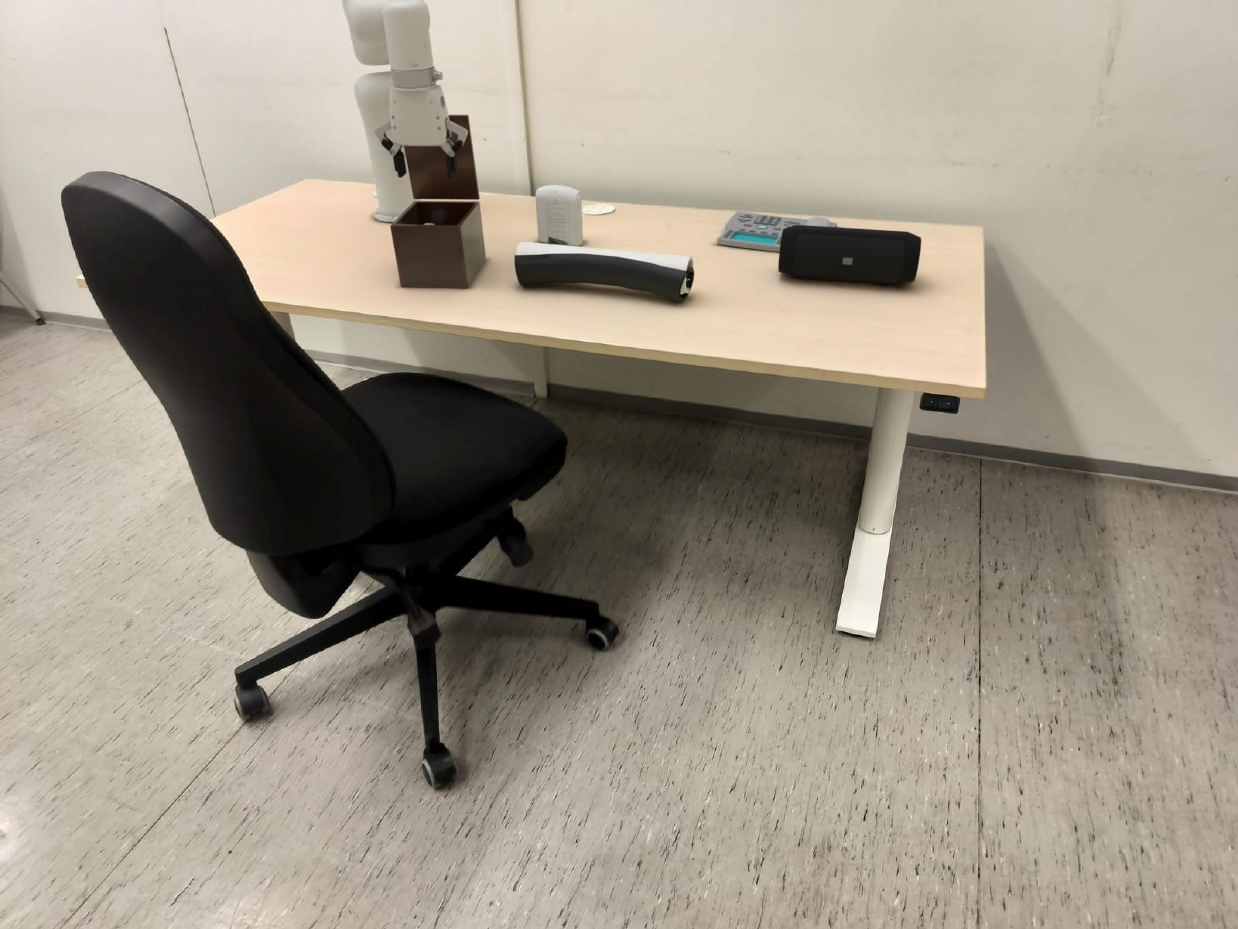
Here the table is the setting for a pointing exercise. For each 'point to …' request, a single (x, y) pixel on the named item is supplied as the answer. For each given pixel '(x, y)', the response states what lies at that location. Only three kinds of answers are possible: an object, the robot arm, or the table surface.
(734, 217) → the office telephone
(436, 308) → the table surface
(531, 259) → the curved black white bar
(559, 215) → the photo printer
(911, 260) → the portable speaker
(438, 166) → the lid
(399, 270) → the chest
